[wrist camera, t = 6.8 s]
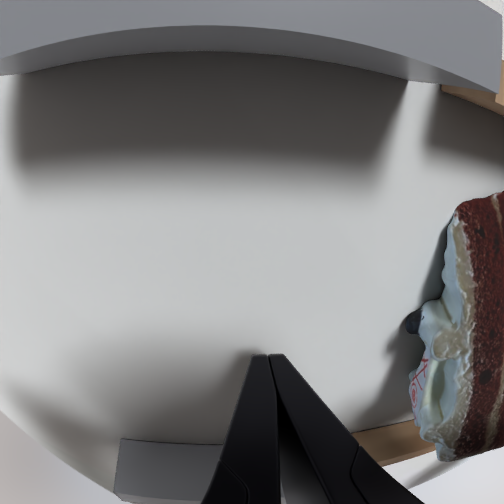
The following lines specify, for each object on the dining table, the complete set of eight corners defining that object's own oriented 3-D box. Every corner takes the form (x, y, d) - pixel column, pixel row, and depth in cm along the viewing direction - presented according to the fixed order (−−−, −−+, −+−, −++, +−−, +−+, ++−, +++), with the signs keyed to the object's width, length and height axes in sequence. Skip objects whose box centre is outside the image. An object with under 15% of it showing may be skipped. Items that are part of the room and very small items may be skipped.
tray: (596, 148, 7) (625, 164, 5) (475, 406, 15) (487, 428, 13) (444, 54, 6) (499, 58, 4) (322, 445, 14) (330, 477, 12)
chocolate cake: (384, 140, 7) (409, 564, 4) (574, 122, 5) (596, 491, 2) (380, 233, 16) (398, 451, 13) (494, 213, 14) (513, 423, 11)
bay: (413, 25, 5) (501, 15, 3) (302, 451, 14) (312, 501, 12) (28, 17, 4) (-54, 5, 2) (128, 451, 13) (122, 500, 11)
